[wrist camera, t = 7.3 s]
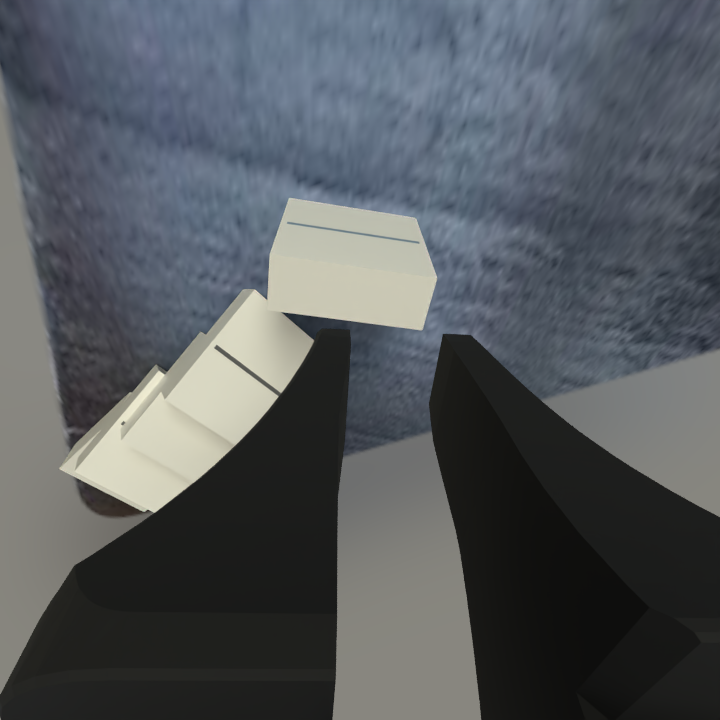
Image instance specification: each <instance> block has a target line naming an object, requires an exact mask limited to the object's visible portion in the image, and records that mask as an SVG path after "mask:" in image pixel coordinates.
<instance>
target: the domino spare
mask: <svg viewBox="0 0 720 720" xmlns="http://www.w3.org/2000/svg"><path fill="white" fill-rule="evenodd" d="M436 281H437V276H436V273H435V271H434V268H433V265H432V262H431V259H430V256H429V254H428V251H427V248H426V245H425V242H424V240H423V237H422V234H421V231H420V228H419V225H418V223H417V220H416V218H413V217H407V216H401V215H394V214H388V213H382V212H375V211H369V210H363V209H356V208H350V207H344V206H338V205H331V204H325V203H319V202H312V201H306V200H300V199H293V198H289V200H288V203H287V206H286V209H285V211H284V214H283V217H282V220H281V223H280V226H279V229H278V232H277V235H276V238H275V241H274V243H273V246H272V249H271V252H270V260H269V279H268V298H267V310H270V311H277V312H285V313H293V314H300V315H308V316H316V317H324V318H331V319H339V320H347V321H354V322H362V323H370V324H377V325H385V326H393V327H400V328H408V329H416V330H422V329H423V326H424V322H425V319H426V315H427V312H428V309H429V305H430V302H431V298H432V295H433V291H434V288H435V284H436Z"/></svg>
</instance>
